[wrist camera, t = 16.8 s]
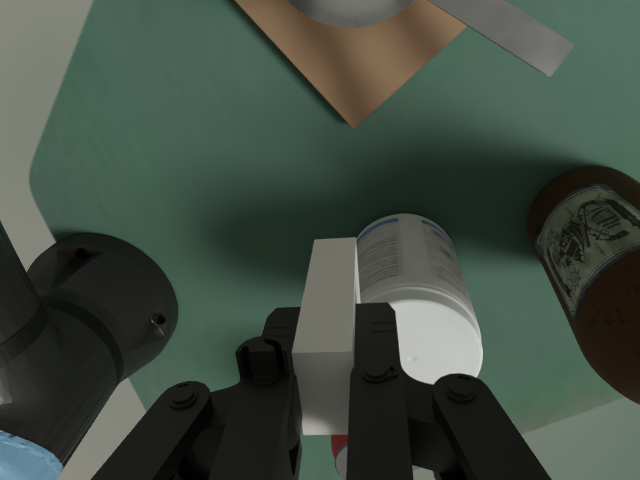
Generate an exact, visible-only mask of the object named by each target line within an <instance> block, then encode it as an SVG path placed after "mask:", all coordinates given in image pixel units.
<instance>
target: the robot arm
mask: <svg viewBox="0 0 640 480" xmlns="http://www.w3.org/2000/svg"><path fill="white" fill-rule="evenodd" d="M177 319H178V305H177V300H176V296H175V293H174V290H173V288H172V286H171V283H170V282H169V280H168V278H167V277H166V275H165V274H164V272H163V271H162V270H161V269H160V267H159V266H158V265H157V264H156V263H155V262H154V261H153V260H152V259H151V258H150V257H148V256H147V255H146V254H145V253H143V252H142V251H141V250H139V249H137V248H136V247H134V246H132V245H130V244H128V243H126V242H124V241H122V240H119V239H116V238H113V237H110V236H105V235H100V234H78V235H73V236H69V237H66V238H64V239H62V240H60V241H58V242H56V243H55V244H54V245H52V246H51V247H50V248H48V249H47V250H46V251H44V252H43V253H42V254H41V255H39V257H37V258H36V260H35V261H34V262H33V263H32V265H31V266H30V268H29V269H28V271H27V273H26V271H25V269H24V267H23V265H22V263H21V261H20V259H19V257H18V255H17V253H16V252H15V250H14V248H13V245H12V244H11V241H10V239H9V237H8V235H7V233H6V231H5V230H4V227H3V225H2V224H1V221H0V480H57V478H58V477H59V476H60V474H61V473H62V470H63V468H64V467H65V465H66V464H67V462H68V461H69V459H70V458H71V456H72V454H73V453H74V451H75V450H76V448H77V447H78V445H79V444H80V442H81V441H82V439H83V438H84V436H85V435H86V433H87V432H88V430H89V428H90V427H91V425H92V423H93V422H94V421H95V419H96V418H97V416H98V415H99V413H100V411H101V410H102V408H103V407H104V405H105V404H106V402H107V401H108V399H109V398H110V396H111V394H112V393H113V391H114V390H115V388H116V387H117V385H118V384H119V383H120V382H122V381H123V380H124V379H126V378H127V377H129V376H130V375H132V374H133V373H135V372H136V371H138V370H139V369H141V368H142V367H143V366H145V365H146V364H148V363H149V362H151V361H152V360H153V359H155V358H156V357H157V356H158V355H159V354H160V352H161V351H162V350H163V349H164V347H165V346H166V344H167V342H168V341H169V339H170V338H171V336H172V334H173V332H174V330H175V328H176V324H177ZM235 353H236V358H237V363H238V368H239V373H240V381H239V383H237V384H236V385H234V386H231V387H228V388H225V389H222V390H218V391H214V392H210V391H209V388H208V387H207V386H206V385H205V384H203V383H200V382H198V381H187V382H183V383H179V384H176V385H174V386H172V387H170V388H168V389H167V390H166V391H165V392H164V393H163V394H162V395H161V396H160V397H159V398H158V399H157V401H156V402H155V403H154V404H153V405H152V407H151V408H150V409H149V410H148V411H147V413H146V414H145V415H144V416H143V417H142V419H141V420H140V421H139V422H138V423H137V425H136V426H135V427H134V428H133V429H132V431H131V432H130V433H129V434H128V435H127V437H126V438H125V439H124V440H123V441H122V443H121V444H120V445H119V446H118V447H117V449H116V450H115V451H114V452H113V454H112V455H111V456H110V457H109V458H108V459H107V461H106V462H105V463H104V464H103V466H102V467H101V468H100V469H99V470H98V471H97V473H96V474H95V475H94V476H93V477H92V479H91V480H298V477H299V470H300V462H301V455H302V447H301V440H300V432H301V425H302V427H303V434H304V435H348V444H347V470H346V480H413V471H412V465H414V466H418V467H422V468H425V469H429V470H432V471H433V473H434V477H435V479H436V480H551V478H550V477H549V475H548V474H547V472H546V471H545V470H544V468H543V467H542V465H541V464H540V462H539V461H538V459H537V458H536V456H535V455H534V453H533V452H532V451H531V449H530V448H529V446H528V445H527V443H526V442H525V440H524V439H523V437H522V436H521V434H520V433H519V432H518V430H517V429H516V427H515V426H514V424H513V423H512V421H511V420H510V418H509V417H508V416H507V414H506V413H505V411H504V410H503V408H502V407H501V405H500V404H499V402H498V401H497V399H496V398H495V397H494V395H493V394H492V392H491V391H490V389H489V388H488V386H487V385H486V384H485V383H483V382H482V381H481V380H480V379H478V378H476V377H474V376H472V375H467V374H462V373H454V374H448V375H445V376H442V377H440V378H439V379H438V380H437V381H436V382H435V383H434V384H429V383H424V382H421V381H418V380H416V379H414V378H412V377H410V376H409V375H408V374H407V373H405V371H404V370H403V368H402V366H401V362H400V352H399V342H398V332H397V323H396V313H395V310H394V309H393V308H392V307H391V306H390V304H389V303H388V302H383V303H361V301H360V288H359V274H358V260H357V246H356V237H352V238H334V239H315V240H314V245H313V250H312V255H311V259H310V264H309V269H308V274H307V279H306V284H305V289H304V294H303V299H302V304H301V307H286V308H276V309H275V310H274V311H273V312H272V313H271V314H270V315H269V316H268V317H267V320H266V323H265V326H264V330H263V333H262V336H260V337H255V338H252V339H250V340H247V341H245V342H244V343H243V344H241V345H240V346H239V347H238V349H237V350H236V352H235Z"/></svg>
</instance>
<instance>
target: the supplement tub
mask: <svg viewBox="0 0 640 480" xmlns="http://www.w3.org/2000/svg"><path fill="white" fill-rule="evenodd" d="M356 246H357V260H358V274H359V288H360V301H361V303H383V302H388V303H389V304H390V306H391V307H392V308H393V309H394V310H395V313H396V323H397V332H398V342H399V352H400V362H401V366H402V368H403V370H404V371H405V373H407V374H408V375H409V376H410V377H412V378H414V379H416V380H418V381H421V382H424V383H429V384H434V383H435V382H436V381H437V380H438V379H439V378H440V377H442V376H445V375H448V374H454V373H462V374H467V375H472V376H474V377H477V375H478V374H479V371H480V368H481V365H482V358H483V350H482V344H481V334H480V329H479V326H478V323H477V320H476V316H475V313H474V310H473V307H472V303H471V300H470V297H469V294H468V291H467V287H466V284H465V281H464V278H463V275H462V272H461V268H460V265H459V262H458V259H457V256H456V253H455V250H454V247H453V244H452V242H451V239H450V238H449V236H448V235H447V233H446V232H445V231H444V230H443V229H442V228H441V227H440V226H439V225H437V224H436V223H434V222H433V221H431V220H429V219H427V218H425V217H422V216H419V215H414V214H394V215H390V216H386V217H383V218H381V219H378V220H376V221H374V222H373V223H371V224H370V225H368V226H367V227H366V228H365V229H364V230H363V231H362V232H361V233H360V234H359V235H358V237H357V238H356Z"/></svg>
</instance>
